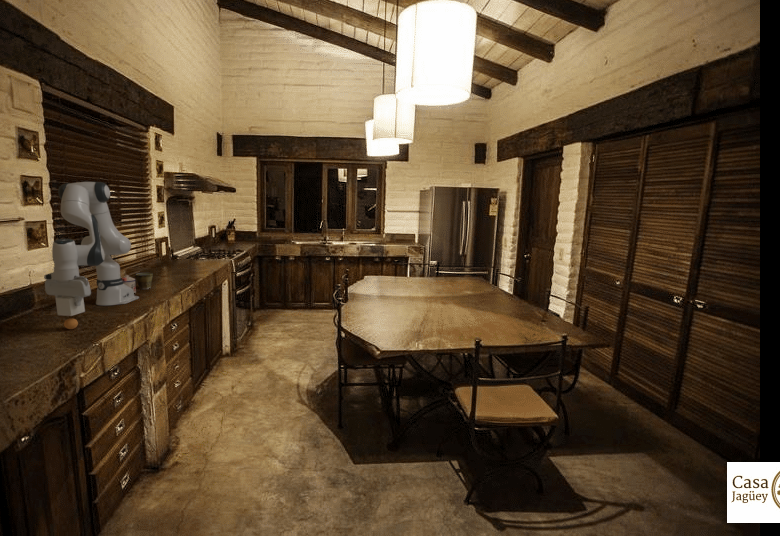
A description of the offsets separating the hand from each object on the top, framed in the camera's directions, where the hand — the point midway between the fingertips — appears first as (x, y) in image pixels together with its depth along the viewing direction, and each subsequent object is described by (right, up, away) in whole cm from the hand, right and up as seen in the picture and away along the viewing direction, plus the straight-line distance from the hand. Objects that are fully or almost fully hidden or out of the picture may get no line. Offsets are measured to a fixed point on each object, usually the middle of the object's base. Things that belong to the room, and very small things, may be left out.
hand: (69, 305), depth 186 cm
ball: (0, -9, +1) cm, 9 cm away
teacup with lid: (-21, +1, +76) cm, 79 cm away
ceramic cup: (-21, +3, +91) cm, 93 cm away
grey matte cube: (0, -4, +1) cm, 4 cm away
